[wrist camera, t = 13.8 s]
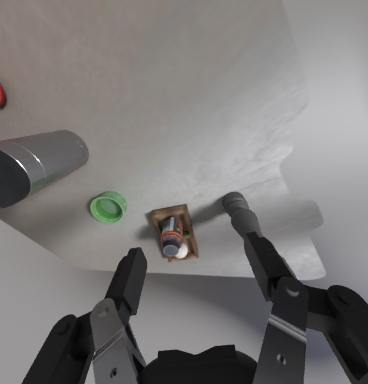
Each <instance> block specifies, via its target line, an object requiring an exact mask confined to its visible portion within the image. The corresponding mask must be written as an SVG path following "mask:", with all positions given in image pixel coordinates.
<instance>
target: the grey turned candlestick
mask: <svg viewBox="0 0 368 384" xmlns="http://www.w3.org/2000/svg"><path fill="white" fill-rule="evenodd" d="M223 205H224V208H225V210H226V212H227V213H228V214H229V216H230V217H231V224H232V226H233V228H234V229H235V230H236V231H237V232H238V234H239V235H240V236H241V237H242V238H243V239H244V232H249V231H255V232H256V233H257V235H258V237H259V238H260V237H263V235H262V233H261V230H260V227H259V223H258V219H257V217H256V215H255V213H254V212H252V211H251V210H249V207H248V204H247V202H246V200H245V198H244V197H243V195H242V194H240V193H239V192H230V193H228V194H227V195H226V196H225V197H224V199H223ZM272 245H273V244H272ZM273 246H274V245H273ZM278 255H279V254H278ZM280 257H281V256H280ZM281 258H282V260H283V262H284V263H285V265H286V266H287V268H288V269H289V271H290V272H291V274H292V275H293V276H294V278H295V279H297V278H296V276H295V274H294V273H293V271H292V270H291V268H290V267H289V265H288V264H287V262H286V261H285V259H284V258H283V257H281ZM252 271H253V270H252ZM253 273H254V272H253ZM254 275H255V274H254ZM255 278H256V277H255ZM256 280H257V279H256ZM257 282H258V281H257ZM258 285H259V284H258ZM259 287H260V286H259Z"/></svg>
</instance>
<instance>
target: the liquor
mask: <svg viewBox="0 0 368 384" xmlns="http://www.w3.org/2000/svg"><path fill="white" fill-rule="evenodd" d="M4 103H5V92H4V90H3V88H2V86H1V84H0V107H1V106H2V105H3V104H4Z"/></svg>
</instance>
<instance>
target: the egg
mask: <svg viewBox="0 0 368 384" xmlns="http://www.w3.org/2000/svg"><path fill="white" fill-rule="evenodd" d="M187 253H188V248H187V246H186V244H184V243H182V246H181V248H180V249H179V252H178V254H177V255H175V257H176V258H179V259H181V258H184V257H185V256H186V255H187Z"/></svg>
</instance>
